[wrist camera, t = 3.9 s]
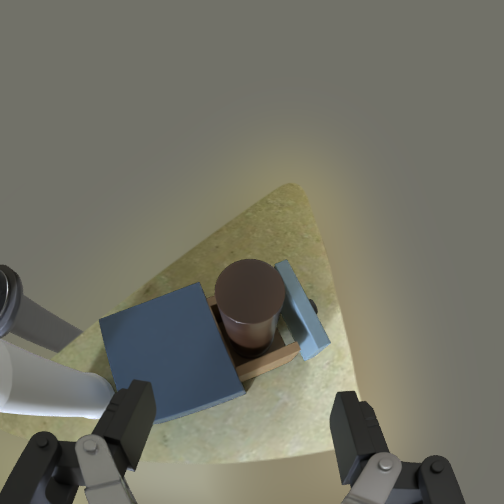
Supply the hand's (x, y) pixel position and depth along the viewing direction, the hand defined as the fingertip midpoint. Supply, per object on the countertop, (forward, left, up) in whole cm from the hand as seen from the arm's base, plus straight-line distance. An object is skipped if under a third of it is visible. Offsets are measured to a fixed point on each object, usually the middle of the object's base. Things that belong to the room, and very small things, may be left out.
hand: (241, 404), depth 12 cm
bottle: (-16, -2, -18) cm, 24 cm away
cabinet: (-6, +3, -18) cm, 19 cm away
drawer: (+1, +7, -17) cm, 18 cm away
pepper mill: (0, +6, -16) cm, 17 cm away
